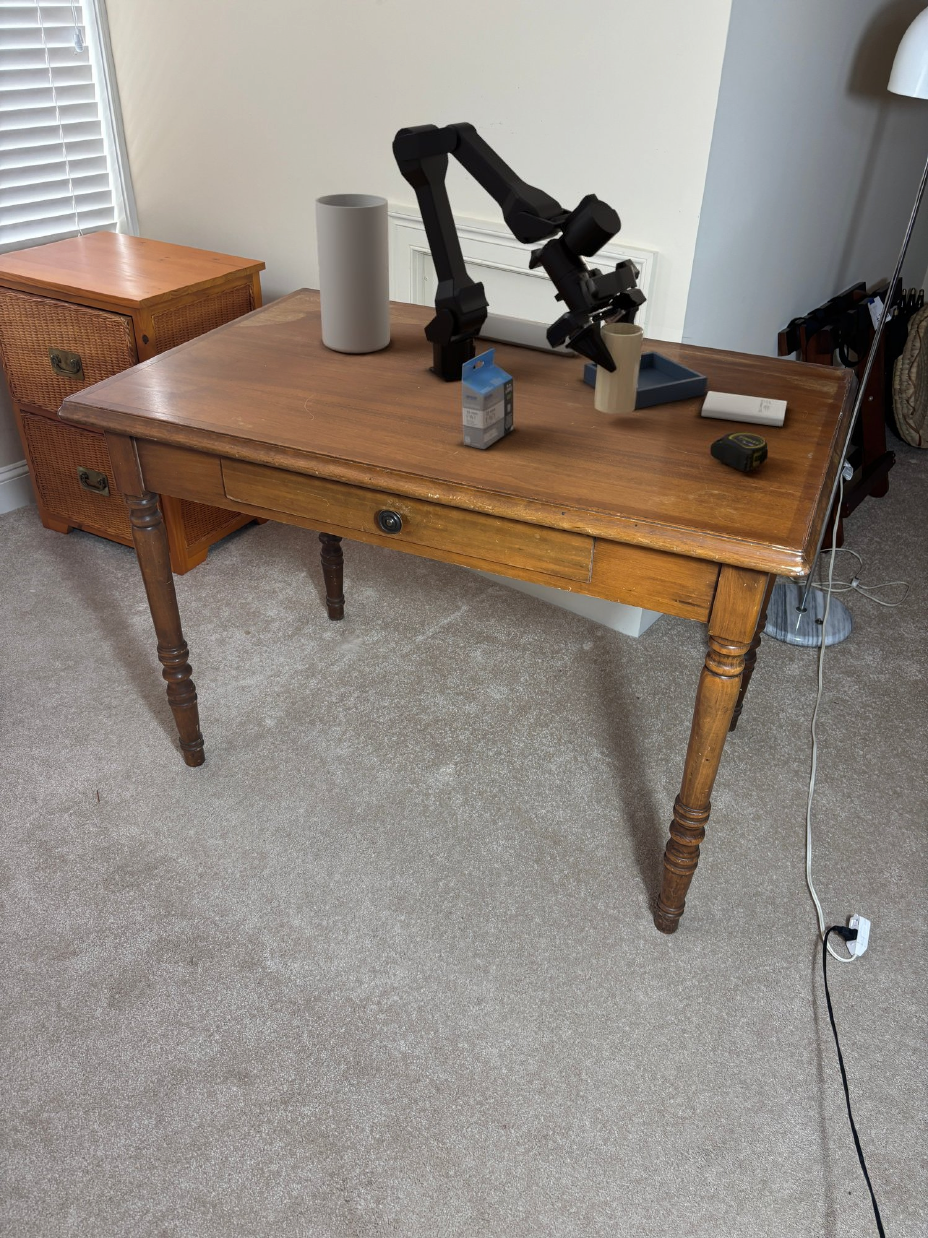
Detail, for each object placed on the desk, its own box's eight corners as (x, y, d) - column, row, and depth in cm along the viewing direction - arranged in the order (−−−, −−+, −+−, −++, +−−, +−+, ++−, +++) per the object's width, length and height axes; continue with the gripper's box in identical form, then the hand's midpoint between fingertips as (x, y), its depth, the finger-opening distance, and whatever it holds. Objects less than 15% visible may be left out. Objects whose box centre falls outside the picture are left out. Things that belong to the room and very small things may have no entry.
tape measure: (705, 461, 141) (709, 437, 139) (738, 450, 144) (742, 426, 142) (741, 478, 136) (745, 453, 134) (775, 466, 140) (779, 442, 138)
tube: (589, 330, 178) (471, 307, 189) (578, 328, 174) (457, 304, 184) (583, 360, 180) (466, 335, 191) (571, 358, 175) (452, 333, 186)
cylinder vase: (386, 355, 178) (383, 208, 164) (317, 352, 178) (309, 205, 165) (393, 334, 188) (391, 194, 175) (328, 332, 189) (321, 192, 175)
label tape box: (484, 450, 144) (485, 368, 137) (460, 444, 146) (461, 363, 139) (514, 430, 150) (516, 351, 143) (491, 424, 152) (492, 346, 145)
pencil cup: (609, 416, 148) (616, 337, 141) (586, 403, 152) (592, 325, 145) (643, 409, 150) (652, 331, 143) (619, 396, 155) (627, 320, 148)
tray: (633, 409, 157) (635, 391, 156) (583, 380, 168) (584, 363, 166) (705, 394, 163) (707, 376, 161) (652, 367, 174) (654, 350, 172)
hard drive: (707, 399, 161) (785, 408, 158) (700, 417, 155) (782, 427, 151) (708, 389, 160) (787, 399, 157) (702, 407, 154) (784, 417, 151)
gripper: (568, 254, 134) (627, 352, 134) (642, 231, 146) (697, 321, 146) (520, 301, 143) (576, 392, 143) (594, 276, 155) (646, 360, 155)
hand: (626, 365), depth 147 cm, fingers closed on pencil cup, 6 cm apart
